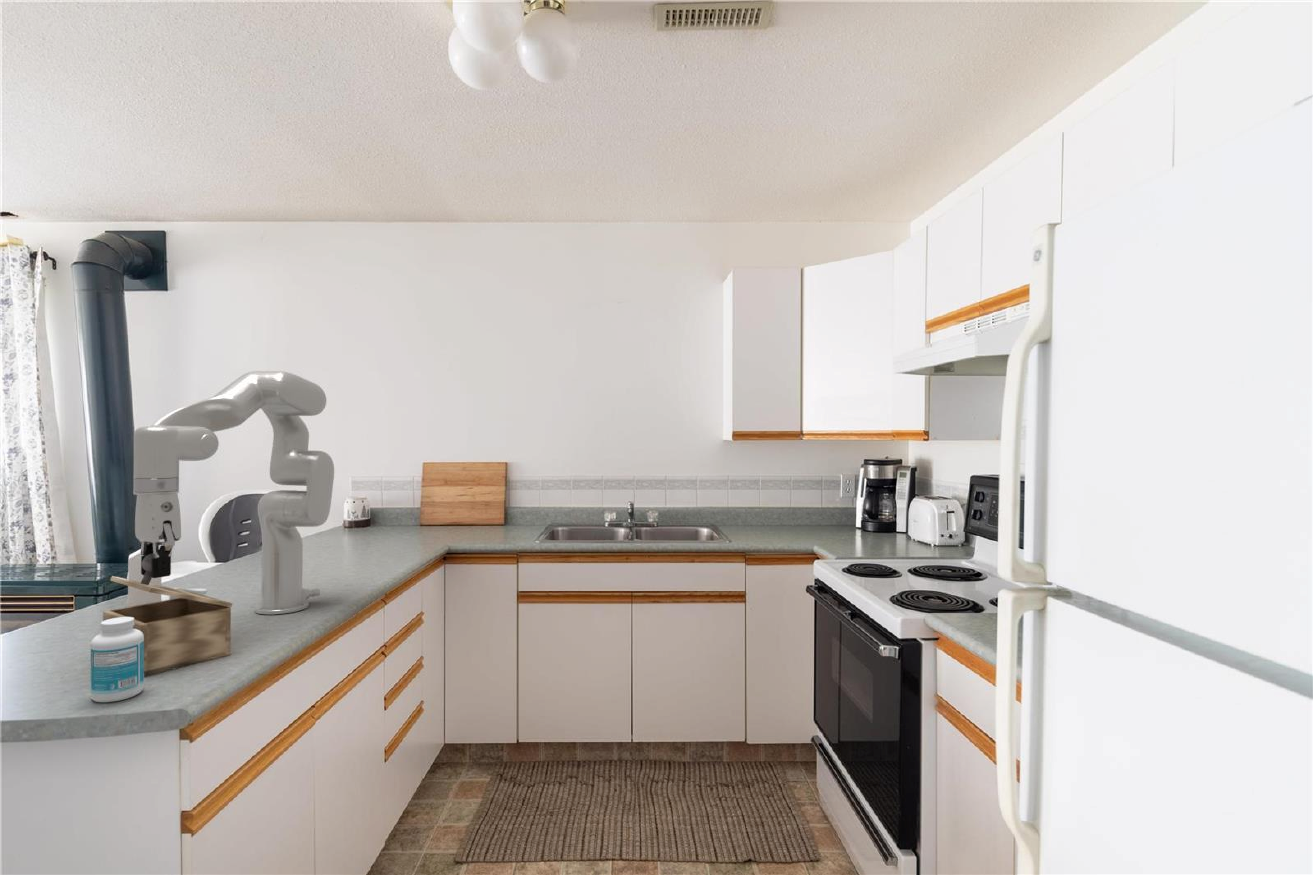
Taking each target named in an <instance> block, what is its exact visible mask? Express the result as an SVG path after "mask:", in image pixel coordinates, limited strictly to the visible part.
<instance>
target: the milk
mask: <svg viewBox="0 0 1313 875" xmlns="http://www.w3.org/2000/svg"><path fill="white" fill-rule="evenodd" d="M141 556H144V555H141V548H140V549H138V550H137V551H134V552H132V553H130V554H129V555H128V559H127V560H128V561H127V566H128V567H127V568H128V569H127V572H128V573H127V574H128V575H127V579H128V580H133V581H138V582H141V581H142V579H143V577H144V575H142V574H141ZM162 580H163V577H159V578H151V581H150V583H149V584H153V585H159V586H162ZM159 601H161V594H156V593H151V592H147V591H144V590H140V589H137V588H134V587H130V586H127V607H131V606H136V605H142V604H148V603H153V602H159Z"/></svg>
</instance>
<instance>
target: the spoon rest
mask: <svg viewBox="0 0 1313 875" xmlns="http://www.w3.org/2000/svg"><path fill="white" fill-rule="evenodd" d="M173 588H174V589H179V590H185V591H190V592H194V593H197V594H201V595H205V596H207V593H208V589H207V588H183V587H173ZM176 598H178V597H173V596H167V595H162V594H161V601H165V600H170V599H176Z"/></svg>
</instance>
